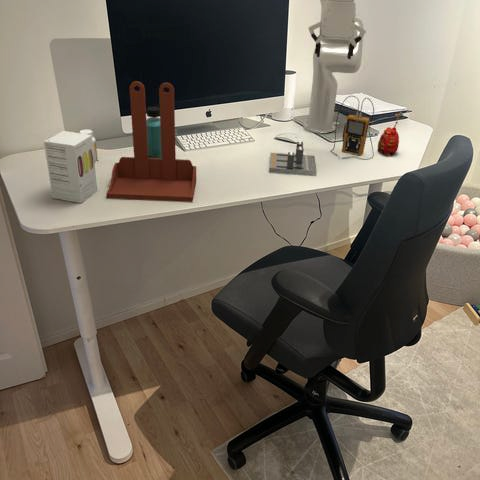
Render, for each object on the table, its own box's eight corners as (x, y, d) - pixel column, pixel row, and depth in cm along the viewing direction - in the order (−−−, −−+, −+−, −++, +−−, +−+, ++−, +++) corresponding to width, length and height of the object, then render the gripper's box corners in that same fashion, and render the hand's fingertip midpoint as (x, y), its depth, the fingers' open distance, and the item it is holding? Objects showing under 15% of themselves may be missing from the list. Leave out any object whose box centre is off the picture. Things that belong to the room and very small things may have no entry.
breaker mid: (295, 159, 171) (297, 146, 168) (301, 160, 171) (303, 146, 168) (296, 162, 169) (297, 149, 166) (302, 162, 168) (303, 149, 166)
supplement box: (81, 204, 142) (73, 146, 133) (51, 198, 144) (42, 141, 135) (98, 189, 150) (92, 134, 141) (70, 184, 152) (62, 129, 143)
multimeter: (324, 156, 179) (332, 99, 168) (334, 147, 187) (342, 92, 176) (365, 166, 173) (376, 107, 163) (373, 156, 181) (384, 100, 171)
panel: (270, 156, 176) (270, 152, 176) (314, 160, 176) (314, 155, 175) (269, 172, 165) (269, 167, 165) (316, 175, 165) (316, 171, 164)
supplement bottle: (89, 155, 171) (85, 127, 166) (101, 159, 168) (98, 131, 163) (76, 160, 167) (73, 132, 162) (89, 164, 164) (85, 135, 159)
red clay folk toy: (372, 149, 187) (380, 109, 179) (389, 148, 189) (398, 107, 181) (384, 157, 180) (392, 116, 173) (401, 156, 182) (410, 114, 175)
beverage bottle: (171, 169, 164) (169, 107, 154) (158, 176, 159) (155, 113, 149) (155, 164, 167) (152, 103, 156) (141, 171, 162) (137, 108, 151)
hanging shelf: (106, 198, 146) (95, 92, 130) (116, 179, 157) (107, 79, 141) (192, 202, 146) (192, 97, 130) (196, 182, 157) (196, 83, 141)
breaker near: (286, 164, 166) (288, 151, 164) (293, 165, 166) (294, 152, 164) (286, 167, 164) (288, 154, 162) (293, 168, 164) (294, 154, 162)
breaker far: (295, 153, 175) (297, 140, 172) (301, 154, 175) (303, 141, 172) (295, 156, 173) (297, 143, 170) (301, 157, 173) (303, 144, 170)
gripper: (368, -3, 156) (359, 57, 164) (311, -6, 156) (305, 53, 165) (372, 0, 149) (362, 61, 158) (312, -4, 150) (306, 58, 158)
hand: (333, 57), depth 161 cm, fingers open, 9 cm apart
